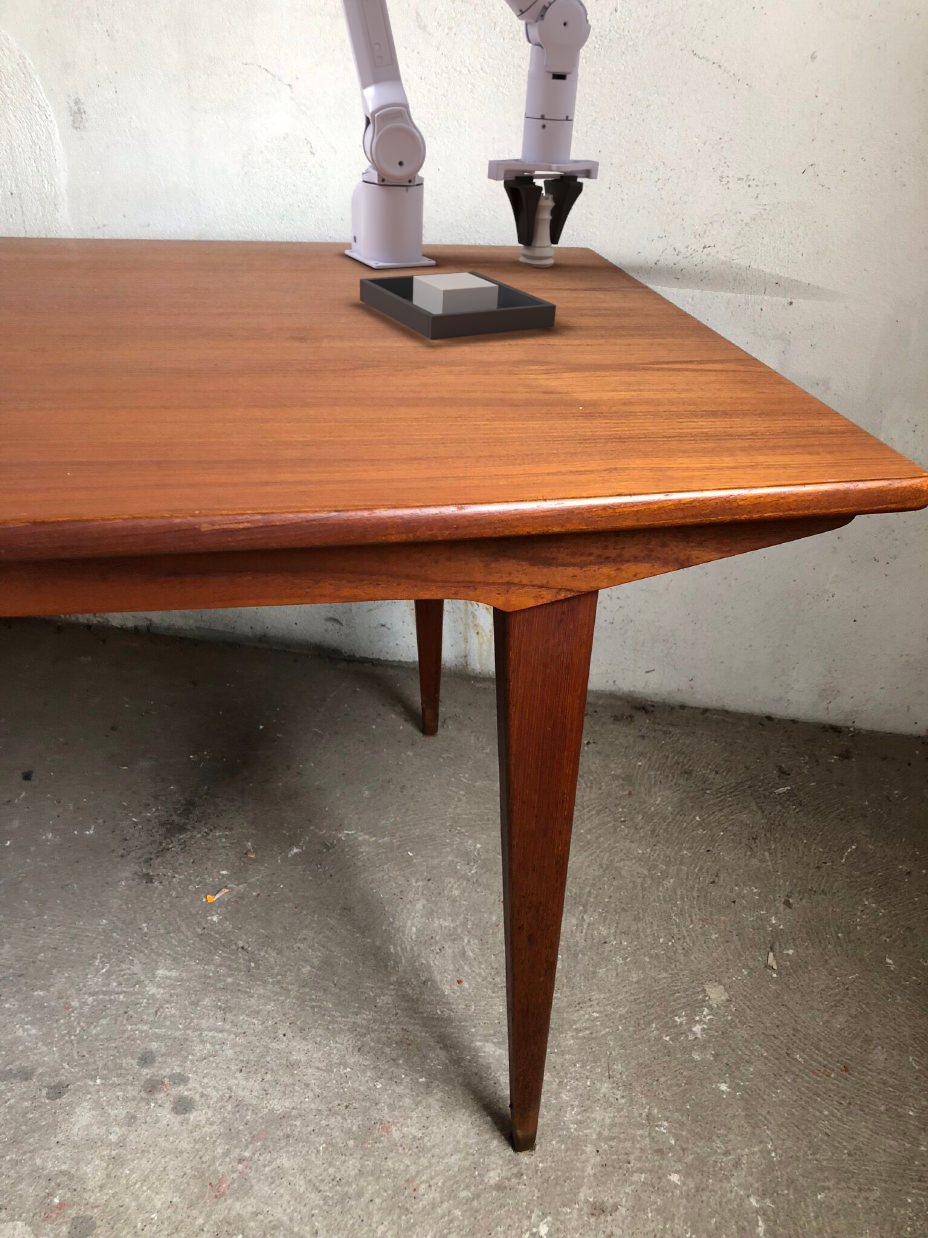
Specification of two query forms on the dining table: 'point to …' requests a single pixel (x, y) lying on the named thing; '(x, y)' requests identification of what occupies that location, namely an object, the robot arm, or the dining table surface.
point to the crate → (509, 316)
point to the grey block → (454, 293)
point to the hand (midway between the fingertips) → (537, 243)
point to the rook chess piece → (540, 237)
